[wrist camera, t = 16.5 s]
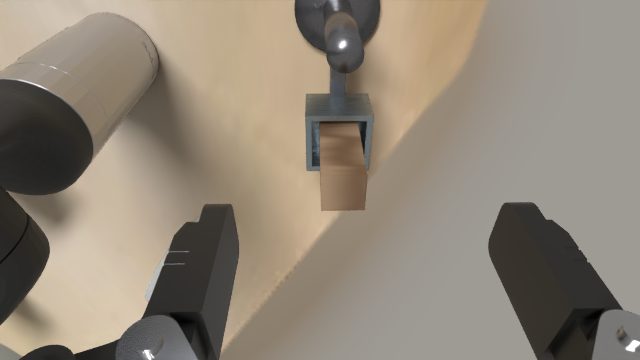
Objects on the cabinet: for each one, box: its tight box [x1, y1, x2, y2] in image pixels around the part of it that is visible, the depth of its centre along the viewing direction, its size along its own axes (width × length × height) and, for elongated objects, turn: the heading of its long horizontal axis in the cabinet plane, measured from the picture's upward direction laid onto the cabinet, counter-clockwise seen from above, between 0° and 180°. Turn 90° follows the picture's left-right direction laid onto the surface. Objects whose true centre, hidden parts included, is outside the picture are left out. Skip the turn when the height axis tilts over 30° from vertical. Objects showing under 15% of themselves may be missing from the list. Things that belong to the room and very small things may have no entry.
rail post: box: [319, 121, 367, 211], centre depth 39 cm, size 4×4×12 cm
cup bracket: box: [295, 0, 380, 171], centre depth 40 cm, size 9×19×14 cm, turn 0°
